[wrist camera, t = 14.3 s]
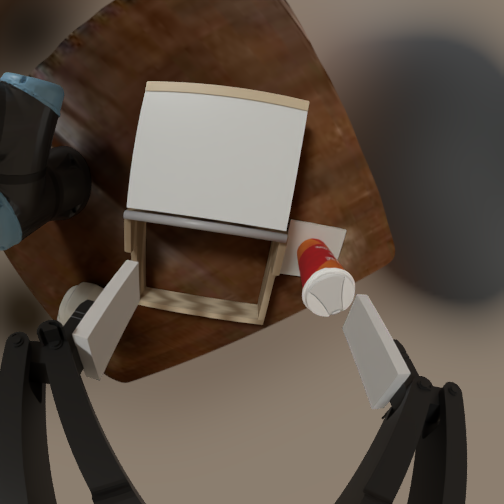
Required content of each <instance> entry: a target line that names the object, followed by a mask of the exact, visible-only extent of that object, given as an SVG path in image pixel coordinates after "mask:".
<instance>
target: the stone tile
mask: <svg viewBox="0 0 504 504" xmlns="http://www.w3.org/2000/svg"><path fill="white" fill-rule="evenodd" d="M346 231H347V230H346V229H341V228H336V227H331V226H325V225H320V224H315V223H309V222H304V221H299V220H293V219H290V223H289V227H288V235H289V237H288V241H287V245H286V250H285V254H284V258H283V262H282V266H281V270H280V274H287V275H294V276H300V271H299V266H298V260H297V250H298V247H299V246H300V244H301V243H302V242H304V241H305V240H307V239H311V238H315V239H319V240H321V241H322V242H324V243H325V245H326V246H327V247H328V248H329V250H330V251H331V252H332V254H333V255H334V256H335V258H336V259H337V260H338V257H339V254H340V250H341V247H342V244H343V241H344V238H345V234H346Z"/></svg>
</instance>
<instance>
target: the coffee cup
mask: <svg viewBox="0 0 504 504" xmlns="http://www.w3.org/2000/svg"><path fill="white" fill-rule="evenodd" d="M297 260H298V266H299V271H300V276H301V282H302V287H303V291H302V299H303V302H304V304H305V306H306V307H307V308H308V309H309V310H311V311H312V312H313V313H315V314H316V315H319V316H324V317H329V315H332V314H333V315H335V314H337V313H340V311H342V310H343V311H344V310H346V309H347V308H348V307H349V305H350V304H351V302H352V300H353V298H354V292H355V282H354V280H353V278H352V276H351V275H350V274H349V273H348V272H347V271H345V270H344V269H343V267H342V266H341V264H340V263H339V262H338V260H337V259H336V258H335V256H334V255H333V254H332V252H331V251H330V250H329V248H328V247H327V246H326V245H325V243H324V242H322V241H321V240H319V239H315V238H311V239H307V240H305V241H304V242H302V243H301V244H300V246H299V247H298V250H297Z"/></svg>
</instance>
